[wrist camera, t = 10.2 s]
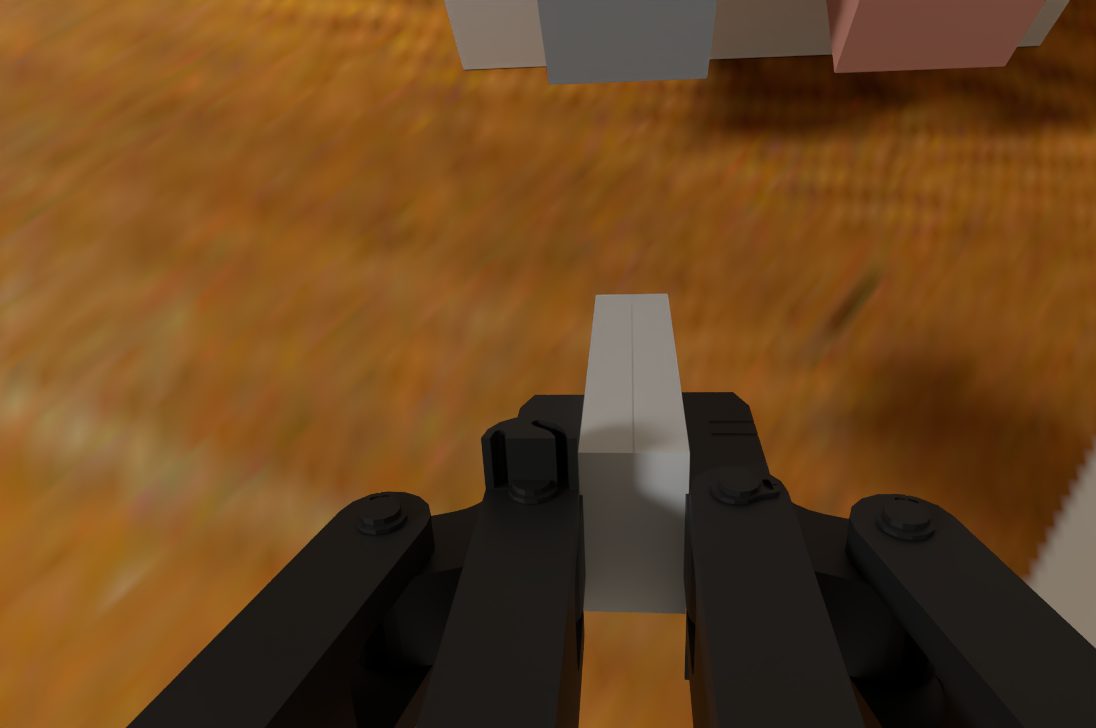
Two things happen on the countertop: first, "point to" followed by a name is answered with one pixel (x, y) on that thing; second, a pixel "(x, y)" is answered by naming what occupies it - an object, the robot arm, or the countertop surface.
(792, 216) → the countertop surface
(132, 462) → the countertop surface
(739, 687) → the robot arm
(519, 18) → the plain grey box
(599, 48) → the slate key
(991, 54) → the brick key
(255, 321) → the countertop surface
